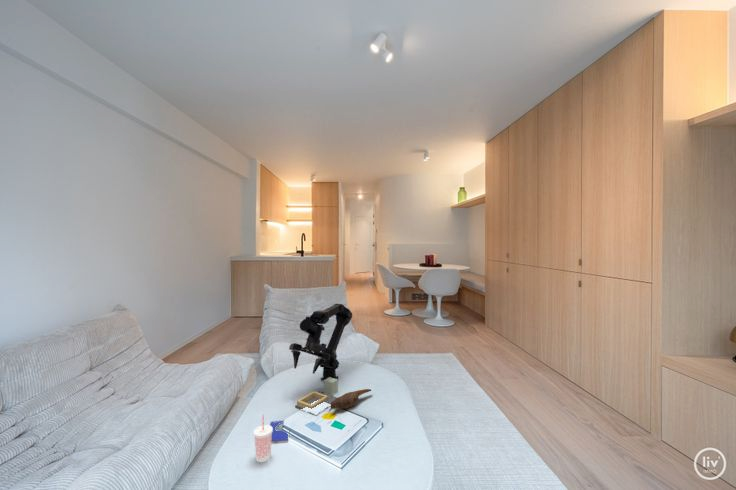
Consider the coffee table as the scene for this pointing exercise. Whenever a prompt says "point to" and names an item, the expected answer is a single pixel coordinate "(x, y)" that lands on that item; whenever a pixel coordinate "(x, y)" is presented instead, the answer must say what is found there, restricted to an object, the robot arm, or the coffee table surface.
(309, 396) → the socket dock
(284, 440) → the hard drive
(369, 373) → the coffee table surface
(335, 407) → the bird sculpture
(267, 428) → the beverage cup
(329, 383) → the block
